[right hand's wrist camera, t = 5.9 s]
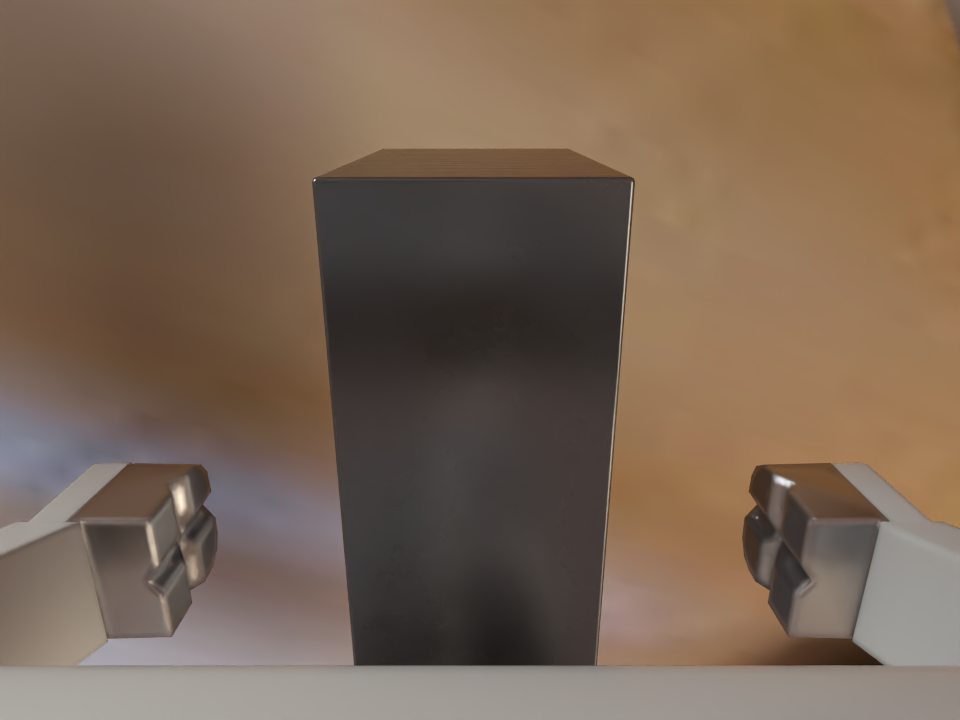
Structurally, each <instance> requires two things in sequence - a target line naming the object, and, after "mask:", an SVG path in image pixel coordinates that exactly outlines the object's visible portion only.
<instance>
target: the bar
mask: <svg viewBox="0 0 960 720" xmlns="http://www.w3.org/2000/svg"><path fill="white" fill-rule="evenodd" d="M312 185H313V196H314V208H315V219H316V231H317V242H318V254H319V266H320V277H321V289H322V300H323V312H324V323H325V335H326V346H327V358H328V369H329V381H330V392H331V404H332V415H333V427H334V438H335V450H336V461H337V473H338V484H339V496H340V508H341V519H342V531H343V542H344V554H345V565H346V577H347V588H348V600H349V611H350V623H351V634H352V646H353V657H354V666H597V655H598V642H599V630H600V617H601V604H602V592H603V579H604V566H605V554H606V541H607V528H608V516H609V503H610V490H611V478H612V465H613V452H614V440H615V427H616V414H617V402H618V389H619V376H620V364H621V351H622V338H623V326H624V313H625V300H626V288H627V275H628V262H629V250H630V237H631V224H632V212H633V199H634V186H635V181H634V178H632V177H630V176H627V175H625V174H623V173H621V172H618V171H616V170H614V169H612V168H610V167H607V166H605V165H603V164H601V163H598V162H596V161H594V160H592V159H590V158H587V157H585V156H583V155H581V154H578V153H576V152H574V151H572V150H570V149H382V150H379V151H377V152H375V153H372V154H370V155H368V156H365V157H363V158H361V159H358V160H356V161H354V162H351V163H349V164H347V165H344V166H342V167H339V168H337V169H335V170H332V171H330V172H328V173H325V174H323V175H321V176H318V177H316V178H314V179H313V182H312Z"/></svg>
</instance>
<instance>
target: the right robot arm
mask: <svg viewBox="0 0 960 720" xmlns="http://www.w3.org/2000/svg"><path fill="white" fill-rule="evenodd" d="M210 492H211V488H210V483H209V478H208V473H207V471H206V470H205V469H204V467H203V466H202V465H201V464H148V463H135V464H133V463H131V462H130V463H101V464H93V465H92V466H91V467H89V468H88V469H87V470H86V471H85V472H84V473H83V474H82V475H80V476H79V477H78V478H77V479H76V480H75V481H74V482H73V483H71V484H70V485H69V486H68V487H67V488H66V489H65V490H64V491H62V492H61V493H60V494H59V495H58V496H57V497H56V498H55V499H53V500H52V501H51V502H50V503H49V504H48V505H47V506H46V507H44V508H43V509H42V510H41V511H40V512H39V513H38V514H37V515H35V516H34V517H33V518H32V519H31V520H30V521H29V522H15V523H13V524H10V525H8V526H5V527H3V528H0V720H960V528H957V527H955V526H952V525H950V524H947V523H945V522H931V521H930V520H929V519H928V518H927V517H926V516H925V515H924V514H922V513H921V512H920V511H919V510H918V509H917V508H916V507H915V506H913V505H912V504H911V503H910V502H909V501H908V500H907V499H906V498H904V497H903V496H902V495H901V494H900V493H899V492H898V491H897V490H895V489H894V488H893V487H892V486H891V485H890V484H889V483H888V482H887V481H885V480H884V479H883V478H882V477H881V476H880V475H879V474H878V473H876V472H875V471H874V470H873V469H872V468H871V467H870V466H869V465H866V464H863V463H859V462H855V463H833V464H831V463H814V464H772V465H760V466H756V468H755V470H754V472H753V474H752V476H751V482H750V488H749V492H750V494H751V496H752V497H753V499H754V500H755V502H756V503H757V505H756V506H755V507H754V508H753V509H752V510H751V512H750V513H749V514H748V515H747V516H746V517H745V519H744V527H743V536H742V540H743V550H744V557H745V560H746V563H747V566H748V569H749V571H750V573H751V575H752V576H753V578H754V580H755V581H756V582H757V583H759V584H761V585H762V586H764V587H765V588H767V589H769V590H770V593H769V599H768V604H769V605H770V607H771V609H772V610H773V612H774V614H775V615H776V617H777V619H778V620H779V622H780V624H781V625H782V627H783V629H784V630H785V632H786V634H787V635H788V637H809V638H846V639H852V642H854V643H855V644H856V645H858V646H859V647H860V648H862V649H863V650H864V651H866V652H867V653H868V654H870V655H871V656H872V657H874V658H875V659H876V660H878V661H879V662H880V663H882V664H883V665H761V666H760V665H759V666H76V665H77V664H78V663H80V662H81V661H82V660H84V659H85V658H87V657H88V656H89V655H91V654H92V653H93V652H95V651H96V650H97V649H99V648H100V647H101V646H103V645H104V644H105V643H107V642H108V640H107V639H114V638H149V637H172V635H173V634H174V632H175V630H176V629H177V627H178V625H179V624H180V622H181V620H182V619H183V617H184V615H185V614H186V612H187V610H188V609H189V607H190V605H191V604H192V599H191V593H190V590H191V589H193V588H195V587H196V586H198V585H199V584H201V583H203V582H204V581H205V580H206V578H207V576H208V574H209V573H210V571H211V569H212V567H213V563H214V559H215V555H216V551H217V526H216V519H215V517H214V516H213V515H212V514H211V513H210V512H209V510H208V509H207V508H206V507H205V506H204V505H203V503H204V502H205V500H206V499H207V497H208V496H209V494H210Z"/></svg>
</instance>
